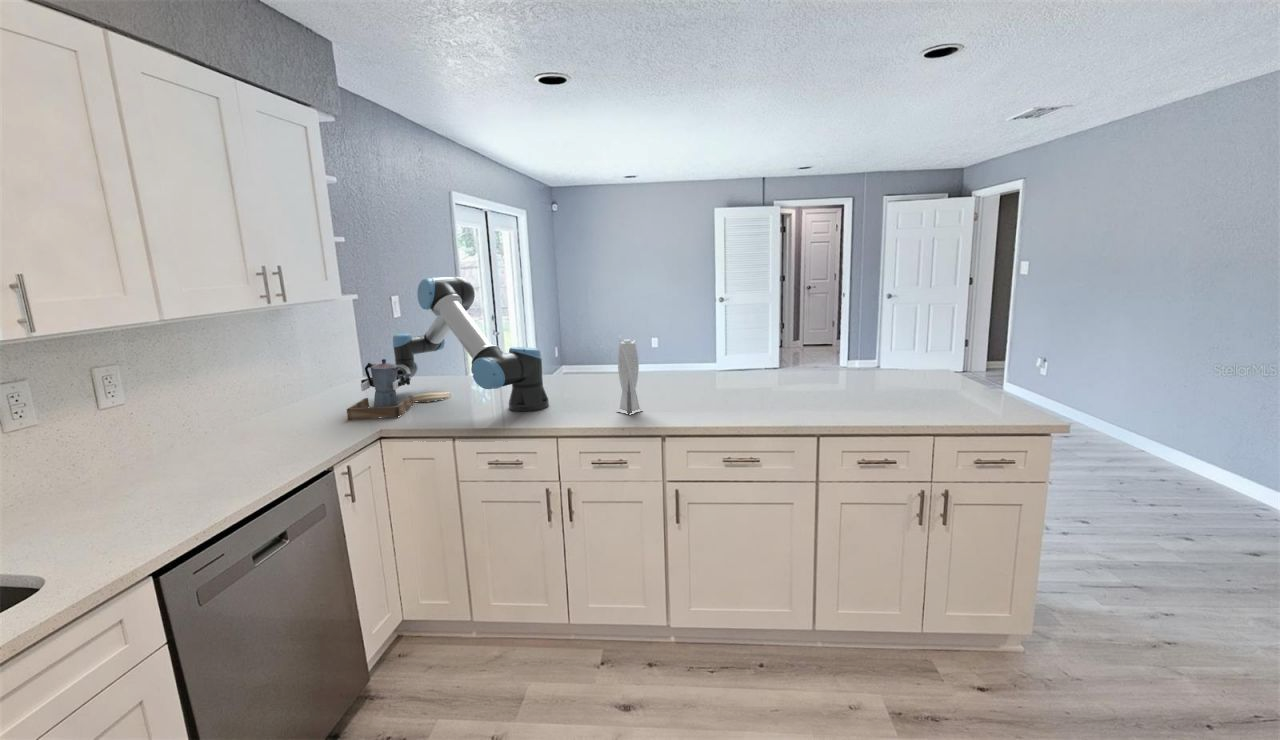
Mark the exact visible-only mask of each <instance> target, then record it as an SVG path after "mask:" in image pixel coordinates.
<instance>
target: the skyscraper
mask: <svg viewBox="0 0 1280 740" xmlns="http://www.w3.org/2000/svg"><path fill="white" fill-rule="evenodd" d="M638 354H639V353H638V350H637V343H636V339H633V341H632V340H631V339H623V341H622V336H621V335H619V345H618V355H617V371H618V378H619V382H620V388H621V395H620V396H621V397H620V405H619V406H620V407H619V410H620V409H622V410H625V411H627V413H628V414H630V413H632V411H635V410H638V409H640V410H641V407H640V404H639V399H638V394H637V390H636V388H637V383H638V378H639V369H640V368H639V367H640V366H639V356H638Z"/></svg>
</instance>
